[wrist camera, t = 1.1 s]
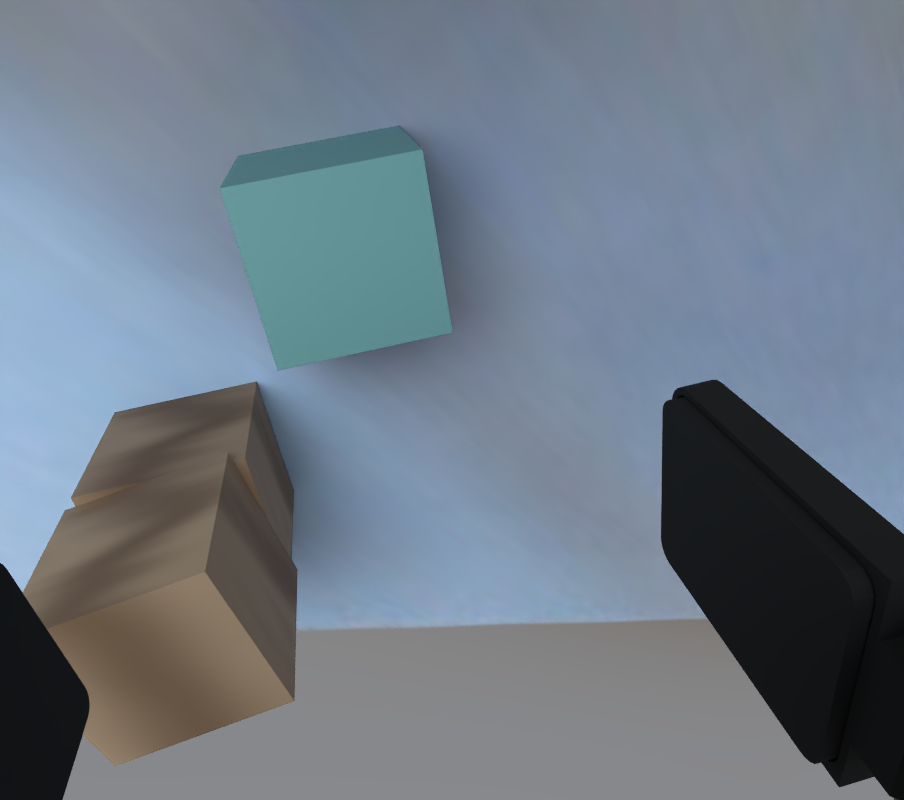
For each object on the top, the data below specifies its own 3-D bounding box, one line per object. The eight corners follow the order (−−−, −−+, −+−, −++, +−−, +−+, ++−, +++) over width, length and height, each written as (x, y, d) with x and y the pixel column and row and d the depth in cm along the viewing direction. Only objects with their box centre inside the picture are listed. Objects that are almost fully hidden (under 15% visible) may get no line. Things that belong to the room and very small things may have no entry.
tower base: (256, 381, 29) (244, 458, 23) (293, 491, 32) (290, 580, 26) (114, 412, 28) (70, 498, 23) (166, 520, 31) (138, 617, 26)
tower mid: (228, 452, 23) (204, 571, 18) (297, 569, 26) (294, 700, 21) (65, 510, 23) (-6, 647, 18) (153, 621, 26) (114, 766, 21)
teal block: (399, 125, 25) (422, 149, 20) (425, 277, 28) (452, 332, 23) (238, 155, 24) (219, 188, 19) (283, 307, 27) (277, 370, 22)
